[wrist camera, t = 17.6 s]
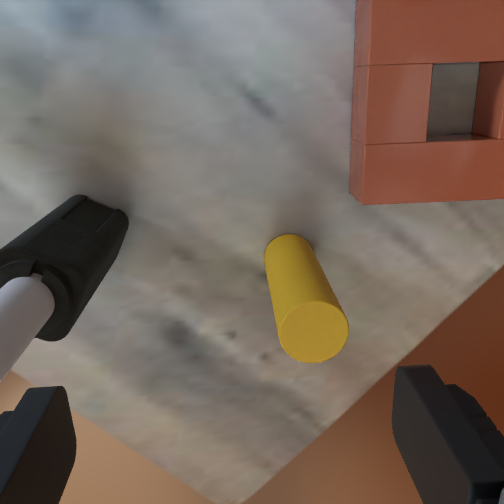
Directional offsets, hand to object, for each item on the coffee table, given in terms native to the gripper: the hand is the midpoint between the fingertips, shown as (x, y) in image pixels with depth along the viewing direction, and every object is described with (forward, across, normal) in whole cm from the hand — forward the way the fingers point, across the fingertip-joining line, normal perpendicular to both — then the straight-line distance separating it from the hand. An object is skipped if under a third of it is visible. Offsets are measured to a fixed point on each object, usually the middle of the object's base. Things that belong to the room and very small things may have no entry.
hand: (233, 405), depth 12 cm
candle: (+28, +11, +4) cm, 31 cm away
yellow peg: (+28, -5, +7) cm, 29 cm away
